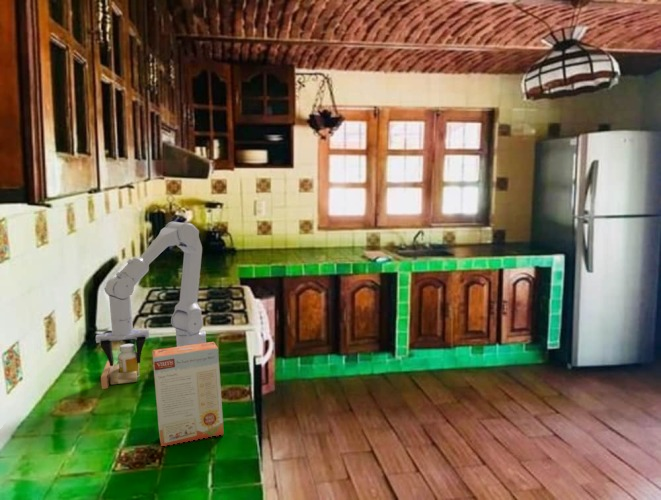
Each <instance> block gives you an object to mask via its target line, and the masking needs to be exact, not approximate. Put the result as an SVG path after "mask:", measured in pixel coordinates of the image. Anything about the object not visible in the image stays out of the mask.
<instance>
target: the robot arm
mask: <svg viewBox="0 0 661 500" xmlns="http://www.w3.org/2000/svg"><path fill="white" fill-rule="evenodd" d="M199 234H200V230H199V229H198V228H197V227H196V226H195V225H194V224H193V223H191V222H179V221H170V222H168V223H167V224H165V227H163V228H162V229H160V231H159V234H158V235H157V236H156V238H155V239H154V240H153V241H152V242H151V243H150V245H148V246H147V248H146V249H145V251H144V252H143V253H142V254H140V256H139V257H133V258H132V259H128V260H127V261H126V263H127V264H126V265H125V266H124V267H123V268H122V269H121V270H120V271H119V272H116V274H115V275H116V276H114V277H111V278H109V279H108V280H107V282H106V285H105V286H104V288H103V289H104V293H106V295H107V296H108V298H109V299H108V300H109V310H110V311H109V312H110V322H111V332H106V333H99V334H96V335H95V341H96V344H98V343H99V344H100V348H101V349H102V350H103V352H104V353H105V356H106V358H107V361H109V363H110V366H114V364H115V362H114V356H113V355H114V354H113V345H112V344H113V343H112V342H114V341H123V340H124V341H125V340H132V339H135V344H136V345H135V346H136V352H137V363H139V364H140V363H141V358H142V352H143V348H144V345H145V343H146V339H148V338H149V339H150V330H149V329H144V330H143V329H140V330H139V329H134V327H133V316H132V314H133V313H132V303H131V295H133V293H134V289H135V286H136V285H137V284H138V283H139V282H140V281H141V280H142V279H143V277H144V276H145V275H146V274H147V273H149V271H150V266H149V265H150V264H151V263H152V262H153V261H154V260H155V259H156V258H157V257H159V255H160V254H161V253H162V252H164V251H165V250H166V249H167V248H168V247H172V246H178V247H179V249H180V250H181V251H182V252H183V261H182V262H183V263H182V273H181V282H180V283H181V284H180V291H179V292H180V293H179V302H178V303H177V304H176V305H175V306H174V310H173V311H174V312H173V314H172V315H171V317H170V323H171V326H172V327H173V328H174V329H175V337H176V347H179V346H187V345H194V344H201V343H207V333H206V330H202V329H203V326H204V320H203V316H202V308H201V307H200V305H199V304H198V300H199V299H198V298H199V297H198V296H199V290H200V275H201V265H202V256H203V255H202V254H203V246H202V243H201V240H200V237H199V236H200V235H199Z"/></svg>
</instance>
